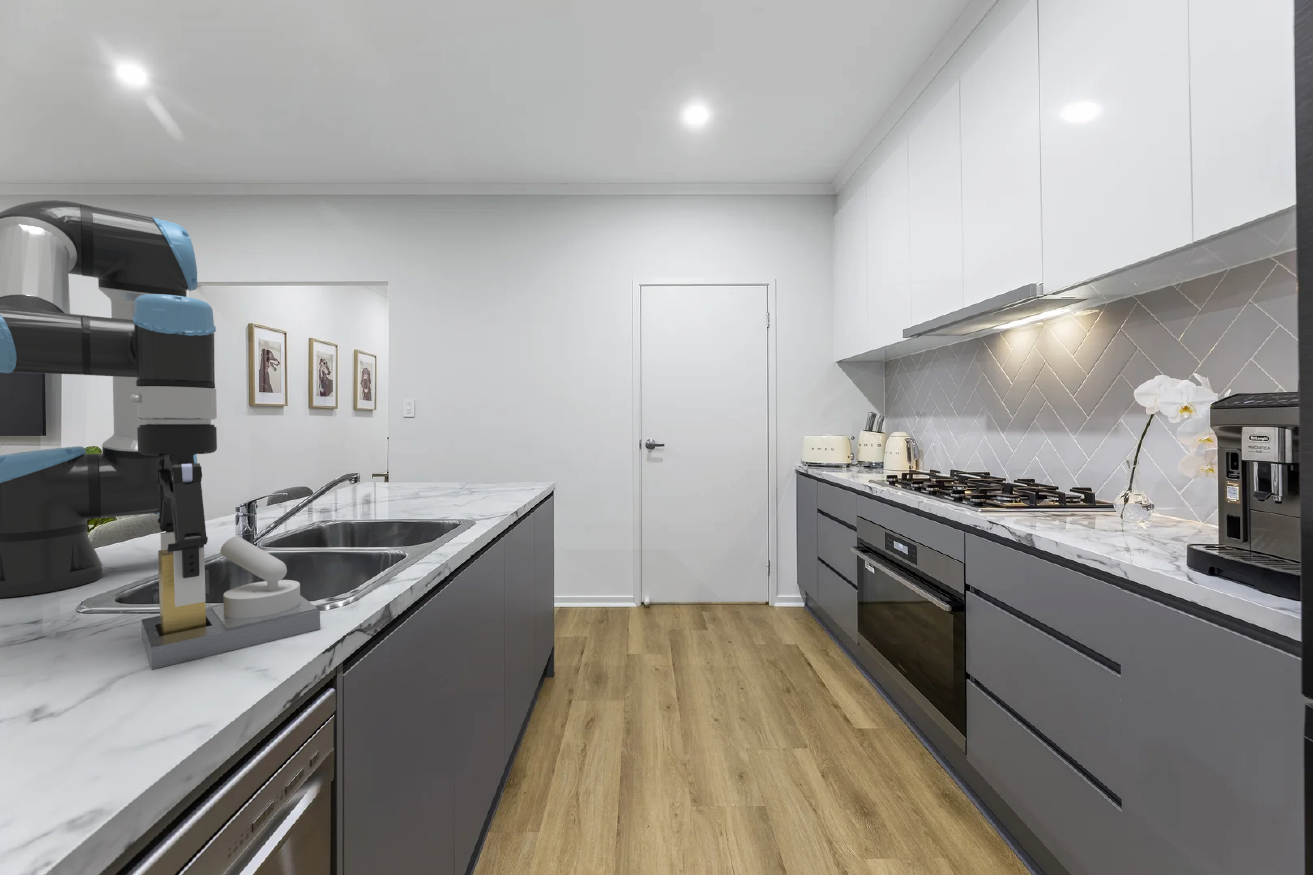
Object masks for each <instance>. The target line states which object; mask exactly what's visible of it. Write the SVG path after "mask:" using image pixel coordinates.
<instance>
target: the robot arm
mask: <svg viewBox="0 0 1313 875" xmlns="http://www.w3.org/2000/svg"><path fill="white" fill-rule="evenodd" d="M197 268H198V267H197V260H196V254H195V250H194V246H193V242H192V239H191V237H190V234H189V232H188V231H187V230H186V228H185V227H183V226H182V225H180V224H179V223H176V222H172V221H168V220H163V219H160V218H156V217H154V216H147V215H140V214H137V213H136V214H135V213H131V212H124V211H119V210H115V209H114V210H113V209H109V208H103V207H98V206H92V205H86V204H82V203H79V202H75V201H74V202H73V201H69V200H51V199H50V200H39V201H38V200H37V201H31V202H26V203H21V204H18V205H14V206H12V207H9V208H6V209H5V210H2V211H0V373H1V374H11V373H18V374H19V373H22V374H23V373H24V374H25V373H26V374H52V375H81V376H82V375H83V376H96V377H97V376H98V377H99V376H100V377H102V376H103V377H112V399H113V400H112V405H113V408H112V409H113V412H112V413H113V435H111V436H110V437H108V438H107V439H106V440H105V441H103V442H102V445H101V446H102V448H101V449H102V453H87V450H86V449H85V448H84V446H81V445H78V446H68V447H57V448H56V447H55V448H47V449H37V450H31V451H30V450H29V451H21V452H15V453H6V454H1V455H0V599H1V598H2V599H3V598H15V597H21V596H23V597H24V596H30V595H31V596H32V595H37V594H38V595H39V594H44V593H50V592H55V591H60V590H65V589H71V588H75V587H78V586H83V585H86V584H89V583H92V582H95V581H97V580H100V579H101V578H102V577H103V563H102V561H101V559H100V557H99V555H98V553H97V551H96V549H95V548H94V546H93V544H92V542H91V540H90V538H89V535H88V520H93V519H94V520H95V519H105V518H107V519H109V518H117V517H126V516H127V517H128V516H129V517H130V516H139V515H152V514H153V515H158V519H157V522H158V524H159V530H160V531H161V532H160V550H168V552H173V554H174V592H175V607H178V606H183V605H189V604H194V603H200V602H205V603H206V569H205V568H206V567H205V564H206V563H205V562H206V561H205V545H207V543H208V542H209V538H208V536H207V529H206V528H207V527H206V519H205V508H204V498H203V489H202V478H203V472H202V470H203V469H202V466H201V464H200V462H199V463H198V457H197V455H205V454H206V455H207V454H212V453H213V454H214V453H215V452H216V451H217V449H218V441H217V440H218V439H217V438H218V437H217V436H218V435H217V434H218V432H217V426H215V424H212V421H213V420H216V419H217V417H218V416H217V415H218V414H217V412H218V410H217V388H216V383H215V382H216V381H215V332H216V330H217V328H216V325H215V323H214V322H215V320H214V310H213V308H212V306H211V305H210V304H209V303H208V302H206V301H204V300H201V299H198V298H193V297H189V296H187V291H189V292H191V291H195V290H197V288H198V285H199V284H198V269H197ZM69 275H77V276H82V277H89V278H97V279H98V280H97V281H98V282H97V284H98V289H99V290H100V291H101V293H103V294H104V295H105V296H106V297H107V298H108V299H109V300H110V307H111V317H105V316H103V317H102V316H91V315H85V314H84V315H83V314H74V313H71V304H70V301H71V300H70V283H69V282H70V281H69V278H70V277H69Z"/></svg>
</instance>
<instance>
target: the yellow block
mask: <svg viewBox="0 0 1313 875" xmlns="http://www.w3.org/2000/svg"><path fill="white" fill-rule="evenodd" d="M157 554H158V555H157V556H158V559H157V560H158V589H159V590H158V592H159V596H158V597H159V616H160V636H164V635H169V634H174V633H179V632H183V631H188V630H193V629H198V628H202V627H206V608H205V607H206V601H205V602H200V603H194V604H189V605H183V606H178V607H175V592H174V554H173V552H168V550H161V549H160V550H158V552H157Z"/></svg>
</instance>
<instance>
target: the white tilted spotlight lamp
mask: <svg viewBox="0 0 1313 875" xmlns="http://www.w3.org/2000/svg"><path fill="white" fill-rule="evenodd" d="M219 551H220V552H219V553H220V555H221V556H222V557H224V558H225V559H227V560H229V561H231V562H232V563H233V564H235V565H237V566H239V567H241V568H242V569H244V570H245V571H247V572H249V573H251V574H253V575H255V576H256V577H258V578H259V579H261V580H262V581H258V582H257V581H256V582H253V583H251V582H250V583H246V584H242V585H240V586H239V585H238V586H237V587H233V588H230V589H228V590H226V591H224V593H223V596H222V597H223V604H224V615H225V616H227V617H231V618H252V617H260V616H266V615H272V614H276V613H280V612H283V611H286V610H289V609H292V608H294V607H296V606H297V605H299V604H300V595H301V583H300V581H297V580H292V579H284V577H286V575H287V572H288V569H287V565H286V563H284V561H282V560H280V559H279V558H277V557H275V556H273V555H272V554H270V553H268V552H267V551H265V550H263V549H261V548H260V547H258V546H256V545H254V544H252V543H251V542H249V541H247V540H246V539H244V538H242V537H241V536H234V537H230V538H228V540H226V541H225V542H224V543H223V544H222V546H221V548H220V549H219Z"/></svg>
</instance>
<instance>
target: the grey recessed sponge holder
mask: <svg viewBox="0 0 1313 875" xmlns="http://www.w3.org/2000/svg"><path fill="white" fill-rule="evenodd" d="M205 608H206V627H202V628H198V629H193V630H188V631H183V632H179V633H174V634H169V635H164V636H160V615H159V616H154V617H147V618H142V619H140V620H141V621H140V622H141V639H142V644H143V646H144V648H145V652H146V655H147V659H148V662H149V664H150V667H151V670H156V669H160V668H165V667H168V666H173V665H178V664H181V663H185V662H189V661H194V660H198V659H203V658H205V657H210V656H215V655H218V654H219V655H220V654H223V653H227V652H230V651H235V650H239V649H243V648H248V647H252V646H256V645H260V644H264V643H268V642H272V641H276V640H280V639H284V638H288V637H293V636H298V635H301V634H306V633H310V632H314V631H319V630H321V610H319V608H318V607H317V606H315V605H314V604H313V603H311V602H310V601H309V600H307V599H306V598H305V597H304V596H302V595H301V594H300V604H299V605H297V606H296V607H294V608H292V609H289V610H286V611H283V612H280V613H276V614H272V615H266V616H260V617H252V618H231V617H227V616H225V615H224V603H222V604H215V605H209V606H205Z"/></svg>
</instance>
